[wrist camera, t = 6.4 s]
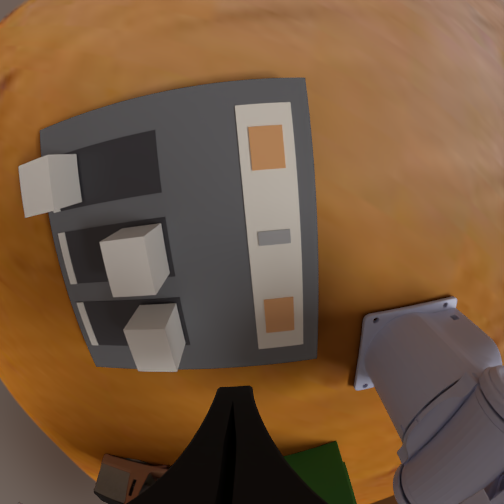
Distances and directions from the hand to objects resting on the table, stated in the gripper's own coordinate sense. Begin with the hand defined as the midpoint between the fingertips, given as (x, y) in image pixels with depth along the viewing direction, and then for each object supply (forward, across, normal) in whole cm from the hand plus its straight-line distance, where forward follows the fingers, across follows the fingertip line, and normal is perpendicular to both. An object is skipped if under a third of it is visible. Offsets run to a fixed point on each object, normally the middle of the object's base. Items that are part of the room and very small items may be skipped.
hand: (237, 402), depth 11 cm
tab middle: (+7, +5, -5) cm, 10 cm away
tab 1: (+7, +10, -10) cm, 16 cm away
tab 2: (+7, +5, 0) cm, 9 cm away
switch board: (+9, +4, -5) cm, 11 cm away
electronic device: (+10, +16, +24) cm, 30 cm away
